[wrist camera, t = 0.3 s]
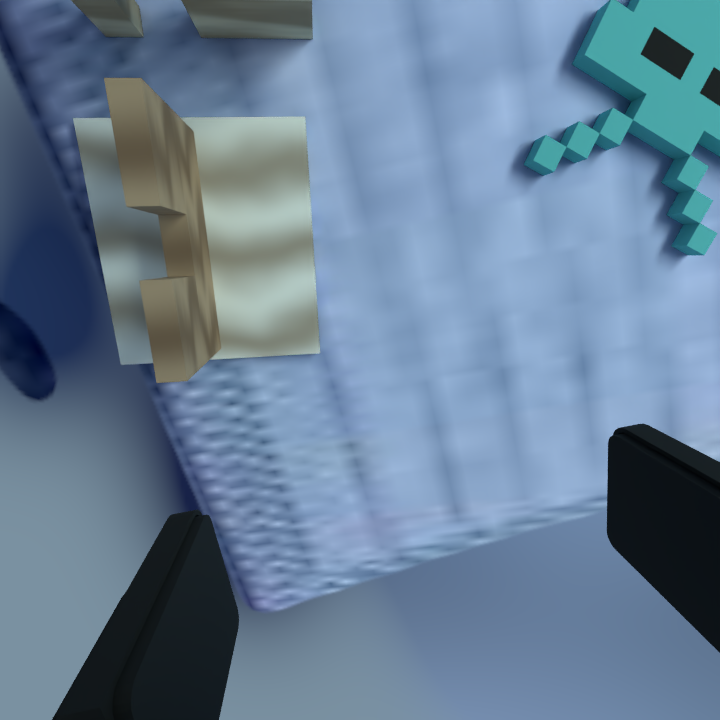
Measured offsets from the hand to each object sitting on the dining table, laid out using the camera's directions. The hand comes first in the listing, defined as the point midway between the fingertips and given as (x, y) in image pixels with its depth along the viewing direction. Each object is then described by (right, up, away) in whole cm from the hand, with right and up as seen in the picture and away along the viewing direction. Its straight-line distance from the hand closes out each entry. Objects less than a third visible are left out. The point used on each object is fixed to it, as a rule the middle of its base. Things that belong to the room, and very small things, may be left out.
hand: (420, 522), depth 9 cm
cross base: (-15, +14, +27) cm, 33 cm away
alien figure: (+27, +27, +28) cm, 47 cm away
